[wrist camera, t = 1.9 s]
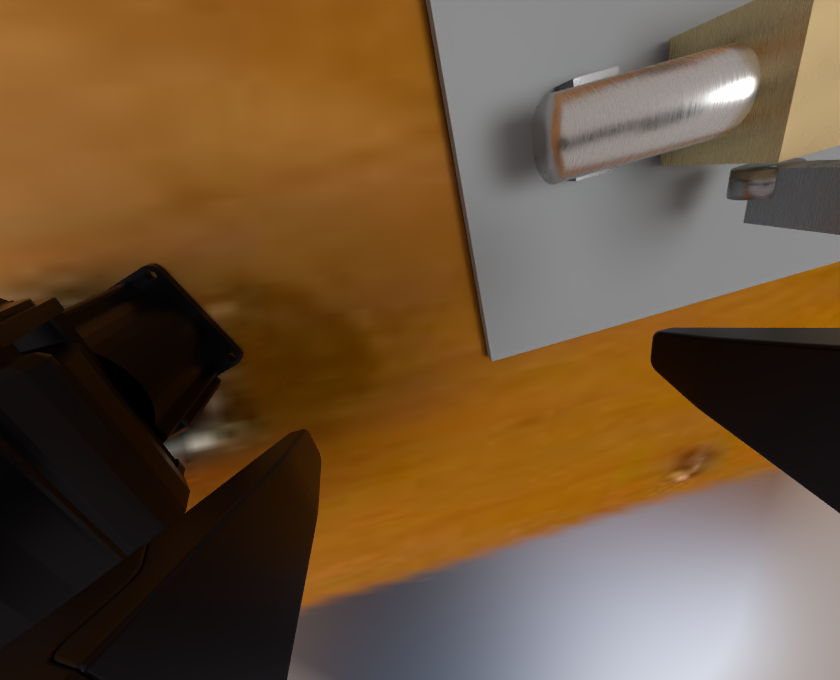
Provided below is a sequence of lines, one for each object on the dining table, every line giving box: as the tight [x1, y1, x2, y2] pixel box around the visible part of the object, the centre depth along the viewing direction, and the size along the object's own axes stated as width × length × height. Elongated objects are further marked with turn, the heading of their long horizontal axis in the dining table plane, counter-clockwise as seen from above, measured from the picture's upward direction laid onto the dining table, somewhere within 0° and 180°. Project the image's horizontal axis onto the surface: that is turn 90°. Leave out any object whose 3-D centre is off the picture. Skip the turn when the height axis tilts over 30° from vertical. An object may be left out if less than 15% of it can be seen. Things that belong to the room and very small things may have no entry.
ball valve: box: [532, 0, 840, 184], centre depth 14 cm, size 20×6×6 cm, turn 104°
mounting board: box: [426, 0, 840, 361], centre depth 18 cm, size 26×18×1 cm
